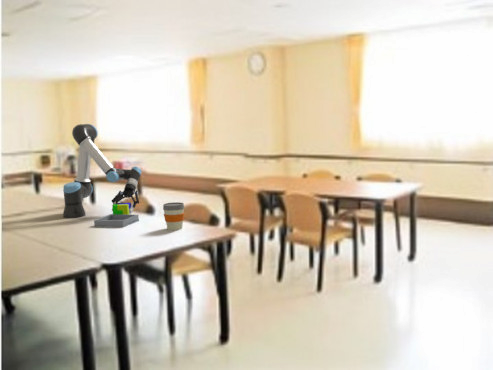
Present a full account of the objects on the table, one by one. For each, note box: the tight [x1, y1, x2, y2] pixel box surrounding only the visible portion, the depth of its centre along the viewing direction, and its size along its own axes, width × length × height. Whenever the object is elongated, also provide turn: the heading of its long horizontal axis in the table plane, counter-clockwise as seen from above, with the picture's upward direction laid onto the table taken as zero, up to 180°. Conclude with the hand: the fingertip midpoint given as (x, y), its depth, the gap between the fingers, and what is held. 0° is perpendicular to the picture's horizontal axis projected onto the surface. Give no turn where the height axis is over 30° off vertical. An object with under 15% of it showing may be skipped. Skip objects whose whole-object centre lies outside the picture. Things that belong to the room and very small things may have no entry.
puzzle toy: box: [111, 202, 133, 215], centre depth 359 cm, size 10×10×10 cm
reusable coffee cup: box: [162, 201, 185, 231], centre depth 318 cm, size 13×13×15 cm
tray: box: [93, 213, 140, 228], centre depth 341 cm, size 20×20×4 cm
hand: (121, 211), depth 360 cm, fingers open, 13 cm apart
